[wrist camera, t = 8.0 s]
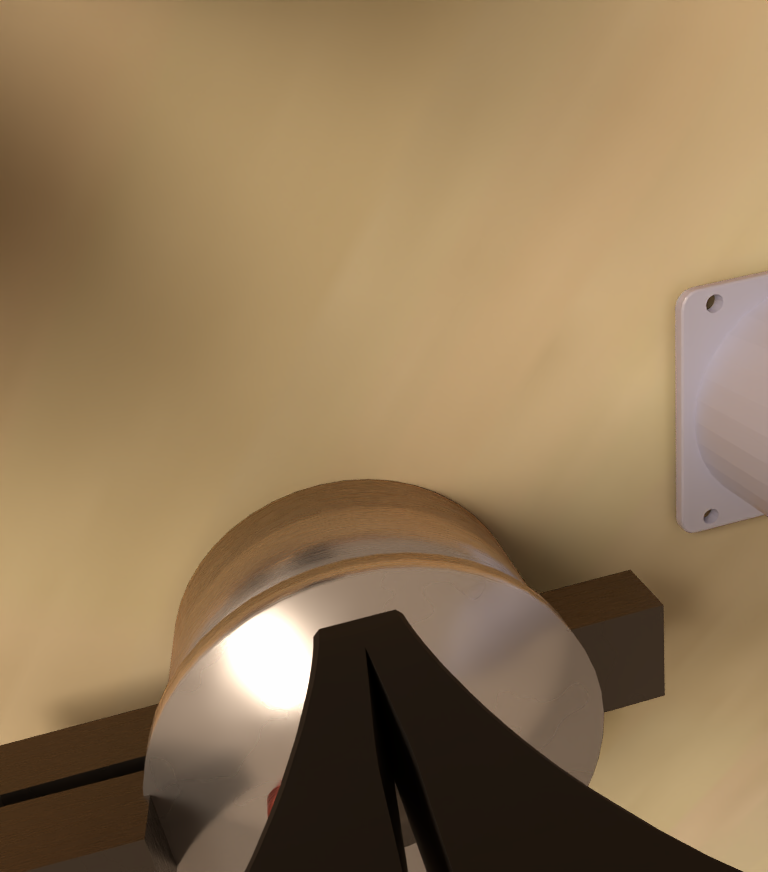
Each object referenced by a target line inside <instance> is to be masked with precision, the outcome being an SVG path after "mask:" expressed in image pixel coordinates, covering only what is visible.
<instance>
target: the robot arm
mask: <svg viewBox="0 0 768 872" xmlns="http://www.w3.org/2000/svg"><path fill="white" fill-rule="evenodd" d="M712 295H714V297H715V301H714V304H713V305H712V307H711V308H709V309H707V307H706V303H707V300H708V299H709V298H710V296H712ZM675 350H676V520H677V523H678V525H679V526H680V527H681V528H682V529H684V530H685V531H686V532H689V533H695V532H700V531H703V530H707V529H711V528H715V527H719V526H723V525H727V524H731V523H734V522H738V521H742V520H746V519H750V518H754V517H758V516H762V515H766V516H767V517H768V271H765V272H761V273H756V274H752V275H747V276H742V277H738V278H733V279H729V280H724V281H719V282H715V283H710V284H705V285H701V286H696V287H692V288H689V289H687V290H685V291H684V292H683V293H682V294H681V295H680V296H679V298H678V300H677V301H676V307H675ZM710 509H711V511H710V513H709V515H708V516H706V517H704V514H705V513H706V512H707V511H708V510H710ZM395 784H396V787H397V790H398V792H399V795H400V798H401V801H402V804H403V807H404V809H405V812H406V815H407V818H408V821H409V824H410V826H411V829H412V832H413V835H414V838H415V841H416V843H417V846H418V849H419V852H420V855H421V857H422V860H423V863H424V866H425V869H426V872H743V871H740V870H738V869H736V868H734V867H731V866H729V865H727V864H725V863H723V862H720V861H718V860H716V859H714V858H712V857H710V856H707V855H706V854H704V853H702V852H700V851H698V850H696V849H694V848H692V847H690V846H689V845H687V844H685V843H683V842H681V841H679V840H677V839H675V838H673V837H672V836H670V835H668V834H666V833H664V832H662V831H660V830H658V829H657V828H655V827H653V826H652V825H650V824H649V823H647V822H645V821H644V820H642V819H640V818H639V817H637V816H635V815H634V814H632V813H630V812H629V811H627V810H625V809H624V808H622V807H620V806H619V805H617V804H615V803H614V802H612V801H610V800H609V799H607V798H605V797H604V796H602V795H600V794H599V793H597V792H595V791H594V790H592V789H591V788H589V787H588V786H586V785H585V784H584V783H582V782H581V781H579V780H578V779H576V778H575V777H573V776H572V775H570V774H569V773H568V772H566V771H565V770H563V769H562V768H560V767H559V766H558V765H556V764H555V763H554V762H552V761H551V760H550V759H548V758H547V757H546V756H544V755H543V754H542V753H540V752H539V751H538V750H536V749H535V748H534V747H532V746H531V745H530V744H529V743H527V742H526V741H525V740H524V739H522V738H521V737H520V736H519V735H517V734H516V733H515V732H514V731H513V730H511V729H510V728H509V727H508V726H507V725H506V724H504V723H503V722H502V721H501V720H500V719H499V718H498V717H496V716H495V715H494V714H493V713H492V712H491V711H490V710H489V709H487V708H486V707H485V706H484V705H483V704H482V703H481V702H480V701H479V700H478V699H477V698H476V697H475V696H474V695H472V694H471V693H470V692H469V691H468V689H467V688H466V687H465V686H464V685H463V684H462V683H461V682H460V681H459V680H458V679H457V678H456V677H455V676H454V675H453V674H452V673H451V672H450V671H449V670H448V669H447V668H446V667H445V666H444V665H443V664H442V663H441V662H440V661H439V659H438V658H437V657H436V656H435V655H434V654H433V653H432V651H431V650H430V649H429V648H428V647H427V646H426V644H425V643H424V642H423V641H422V639H421V638H420V637H419V636H418V634H417V633H416V632H415V630H414V629H413V628H412V626H411V625H410V624H409V622H408V621H407V619H406V618H405V616H404V614H403V613H401V612H399V611H397V610H396V609H395V610H391V611H387V612H383V613H379V614H375V615H372V616H368V617H364V618H360V619H356V620H352V621H348V622H344V623H341V624H337V625H333V626H329V627H325V628H321V629H319V630H318V631H317V632H316V634H315V635H314V636H313V655H312V664H311V671H310V677H309V682H308V688H307V693H306V697H305V701H304V705H303V710H302V714H301V718H300V722H299V726H298V730H297V734H296V737H295V741H294V744H293V747H292V750H291V753H290V757H289V760H288V763H287V766H286V769H285V772H284V775H283V778H282V781H281V785H280V787H279V790H278V793H277V796H276V798H275V801H274V804H273V806H272V809H271V812H270V814H269V817H268V819H267V822H266V824H265V827H264V829H263V831H262V834H261V836H260V839H259V841H258V843H257V846H256V848H255V850H254V853H253V855H252V857H251V859H250V861H249V863H248V866H247V868H246V870H245V872H408V868H407V861H406V854H405V848H404V841H403V834H402V828H401V821H400V814H399V808H398V801H397V795H396V788H395Z"/></svg>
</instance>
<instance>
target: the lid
mask: <svg viewBox="0 0 768 872" xmlns="http://www.w3.org/2000/svg"><path fill="white" fill-rule="evenodd" d="M395 609H396V610H397V611H399V612H401V613H403V614H404V616H405V618H406V619H407V621H408V622H409V624H410V625H411V626H412V628H413V629H414V630H415V632H416V633H417V634H418V636H419V637H420V638H421V639H422V641H423V642H424V643H425V644H426V646H427V647H428V648H429V649H430V650H431V651H432V653H433V654H434V655H435V656H436V657H437V658H438V659H439V661H440V662H441V663H442V664H443V665H444V666H445V667H446V668H447V669H448V670H449V671H450V672H451V673H452V674H453V675H454V676H455V677H456V678H457V679H458V680H459V681H460V682H461V683H462V684H463V685H464V686H465V687H466V688H467V689H468V691H469V692H470V693H471V694H472V695H474V696H475V697H476V698H477V699H478V700H479V701H480V702H481V703H482V704H483V705H484V706H485V707H486V708H487V709H489V710H490V711H491V712H492V713H493V714H494V715H495V716H496V717H498V718H499V719H500V720H501V721H502V722H503V723H504V724H506V725H507V726H508V727H509V728H510V729H511V730H513V731H514V732H515V733H516V734H517V735H519V736H520V737H521V738H522V739H524V740H525V741H526V742H527V743H529V744H530V745H531V746H532V747H534V748H535V749H536V750H538V751H539V752H540V753H542V754H543V755H544V756H546V757H547V758H548V759H550V760H551V761H552V762H554V763H555V764H556V765H558V766H559V767H560V768H562V769H563V770H565V771H566V772H568V773H569V774H570V775H572V776H573V777H575V778H576V779H578V780H579V781H581V782H582V783H584V784H585V785H586V786H588V785H589V783H590V781H591V778H592V775H593V773H594V770H595V767H596V764H597V761H598V758H599V753H600V748H601V743H602V738H603V724H604V710H603V701H602V693H601V689H600V686H599V682H598V679H597V675H596V672H595V669H594V667H593V665H592V663H591V661H590V659H589V657H588V655H587V653H586V651H585V649H584V648H583V647H582V645H581V644H580V642H579V641H578V639H577V638H576V637H575V635H574V634H573V632H572V631H571V629H570V628H569V627H568V625H567V624H566V623H565V621H564V620H563V619H562V617H561V616H560V615H559V613H558V612H557V611H556V610H555V609H554V608H553V607H552V606H551V605H550V604H549V603H548V602H547V601H546V600H545V599H544V598H543V597H542V596H541V595H539V594H538V593H536V592H535V591H534V590H532V589H531V588H529V587H528V586H526V585H525V584H524V583H522V582H521V581H519V580H517V579H515V578H513V577H511V576H509V575H507V574H505V573H503V572H501V571H499V570H497V569H495V568H492V567H489V566H486V565H483V564H480V563H477V562H474V561H471V560H467V559H461V558H456V557H451V556H446V555H440V554H426V553H410V552H407V553H389V554H375V555H369V556H363V557H357V558H351V559H345V560H341V561H338V562H334V563H331V564H327V565H324V566H321V567H317V568H314V569H311V570H308V571H306V572H303V573H301V574H299V575H296V576H294V577H291V578H289V579H286V580H284V581H282V582H280V583H278V584H276V585H274V586H272V587H271V588H269V589H267V590H265V591H263V592H261V593H260V594H258V595H256V596H254V597H252V598H251V599H249V600H248V601H247V602H245V603H244V604H242V605H241V606H240V607H238V608H237V609H235V610H234V611H233V612H231V613H230V614H228V615H227V616H226V617H224V618H223V619H222V620H221V621H220V622H219V623H218V624H217V625H216V626H215V627H213V628H212V629H211V630H210V631H209V632H208V633H207V634H206V635H205V636H204V637H203V638H202V639H201V640H200V641H199V642H198V643H197V644H196V646H195V647H194V648H193V649H192V650H191V652H190V653H189V654H188V655H187V656H186V658H185V659H184V660H183V661H182V662H181V664H180V666H179V667H178V669H177V670H176V672H175V674H174V675H173V677H172V678H171V680H170V681H169V683H168V685H167V686H166V688H165V691H164V693H163V695H162V698H161V700H160V702H159V704H158V707H157V709H156V711H155V715H154V719H153V722H152V726H151V730H150V734H149V738H148V745H147V752H146V759H145V768H144V771H140V772H136V773H132V774H128V775H124V776H120V777H116V778H112V779H109V780H105V781H101V782H97V783H93V784H89V785H85V786H81V787H77V788H73V789H70V790H66V791H62V792H58V793H54V794H50V795H46V796H42V797H38V798H35V799H31V800H27V801H23V802H19V803H15V804H11V805H7V806H3V807H0V872H245V870H246V868H247V866H248V863H249V861H250V859H251V857H252V855H253V853H254V850H255V848H256V846H257V843H258V841H259V839H260V836H261V834H262V831H263V829H264V827H265V824H266V822H267V819H268V817H269V814H270V812H271V809H272V806H273V804H274V801H275V798H276V796H277V793H278V790H279V787H280V785H281V781H282V778H283V775H284V772H285V769H286V766H287V763H288V760H289V757H290V753H291V750H292V747H293V744H294V741H295V737H296V734H297V730H298V726H299V722H300V718H301V714H302V710H303V705H304V701H305V697H306V693H307V688H308V682H309V677H310V671H311V664H312V655H313V636H314V635H315V634H316V632H317V631H318V630H319V629H321V628H325V627H329V626H333V625H337V624H341V623H344V622H348V621H352V620H356V619H360V618H364V617H368V616H372V615H375V614H379V613H383V612H387V611H391V610H395ZM395 788H396V795H397V801H398V808H399V814H400V821H401V828H402V834H403V841H404V848H405V854H406V861H407V868H408V872H426V869H425V866H424V863H423V860H422V857H421V855H420V852H419V849H418V846H417V843H416V841H415V838H414V835H413V832H412V829H411V826H410V824H409V821H408V818H407V815H406V812H405V809H404V807H403V804H402V801H401V798H400V795H399V792H398V790H397V787H396V784H395Z"/></svg>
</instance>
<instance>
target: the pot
mask: <svg viewBox="0 0 768 872" xmlns="http://www.w3.org/2000/svg"><path fill="white" fill-rule="evenodd" d="M407 552H410V553H426V554H440V555H446V556H451V557H456V558H461V559H467V560H471V561H474V562H477V563H480V564H483V565H486V566H489V567H492V568H495V569H497V570H499V571H501V572H503V573H505V574H507V575H509V576H511V577H513V578H515V579H517V580H519V581H521V582H522V583H524V584H525V585H526V583H525V582H524V580H523V579H522V577H521V576H520V574H519V573H518V571H517V570H516V568H515V567H514V565H513V564H512V562H511V561H510V559H509V558H508V556H507V555H506V553H505V552H504V550H503V549H502V547H501V546H500V544H499V543H498V542H497V540H496V539H495V538H494V536H493V535H492V534H491V533H490V531H489V530H488V529H487V527H486V526H484V525H483V524H482V523H481V522H480V521H479V520H478V519H477V518H476V517H475V516H474V515H473V514H472V513H470V512H469V511H467V510H466V509H464V508H463V507H461V506H460V505H458V504H457V503H456V502H454V501H452V500H450V499H448V498H446V497H444V496H442V495H440V494H438V493H436V492H433V491H430V490H427V489H424V488H421V487H418V486H415V485H410V484H404V483H399V482H394V481H384V480H369V479H367V480H348V481H339V482H334V483H328V484H322V485H318V486H314V487H311V488H307V489H304V490H301V491H297V492H294V493H292V494H290V495H287V496H285V497H283V498H280V499H278V500H276V501H273V502H271V503H270V504H268V505H266V506H264V507H263V508H261V509H259V510H258V511H256V512H254V513H252V514H251V515H249V516H248V517H247V518H245V519H244V520H243V521H241V522H240V523H239V524H237V525H236V526H235V527H233V528H232V529H231V530H230V531H229V532H228V533H227V534H226V535H225V536H224V537H223V538H222V539H221V540H220V541H219V542H217V543H216V544H215V545H214V546H213V548H212V549H211V550H210V552H209V553H208V554H207V555H206V557H205V558H204V559H203V560H202V562H201V563H200V564H199V566H198V568H197V569H196V571H195V573H194V575H193V576H192V578H191V580H190V581H189V583H188V585H187V588H186V590H185V593H184V595H183V598H182V600H181V603H180V606H179V611H178V615H177V619H176V624H175V631H174V640H173V648H172V656H171V664H170V672H169V681H170V680H171V678H172V677H173V675H174V674H175V672H176V670H177V669H178V667H179V666H180V664H181V662H182V661H183V660H184V659H185V658H186V656H187V655H188V654H189V653H190V652H191V650H192V649H193V648H194V647H195V646H196V644H197V643H198V642H199V641H200V640H201V639H202V638H203V637H204V636H205V635H206V634H207V633H208V632H209V631H210V630H211V629H212V628H213V627H215V626H216V625H217V624H218V623H219V622H220V621H221V620H222V619H223V618H224V617H226V616H227V615H228V614H230V613H231V612H233V611H234V610H235V609H237V608H238V607H240V606H241V605H242V604H244V603H245V602H247V601H248V600H249V599H251V598H252V597H254V596H256V595H258V594H260V593H261V592H263V591H265V590H267V589H269V588H271V587H272V586H274V585H276V584H278V583H280V582H282V581H284V580H286V579H289V578H291V577H294V576H296V575H299V574H301V573H303V572H306V571H308V570H311V569H314V568H317V567H321V566H324V565H327V564H331V563H334V562H338V561H341V560H345V559H351V558H357V557H363V556H369V555H375V554H389V553H407ZM526 586H527V585H526ZM540 595H541V596H542V597H543V598H544V599H545V600H546V601H547V602H548V603H549V604H550V605H551V606H552V607H553V608H554V609H555V610H556V611H557V612H558V613H559V615H560V616H561V617H562V619H563V620H564V621H565V623H566V624H567V625H568V627H569V628H570V629H571V631H572V632H573V634H574V635H575V637H576V638H577V639H578V641H579V642H580V644H581V645H582V647H583V648H584V649H585V651H586V653H587V655H588V657H589V659H590V661H591V663H592V665H593V667H594V669H595V672H596V675H597V679H598V682H599V686H600V689H601V693H602V701H603V710H604V712H607V711H611V710H614V709H618V708H621V707H625V706H629V705H632V704H636V703H639V702H643V701H646V700H650V699H653V698H657V697H660V696H664V695H665V689H664V614H663V604H662V603H661V602H660V601H659V600H658V599H657V598H656V597H655V596H654V595H653V593H652V592H651V591H650V590H649V589H648V588H647V587H646V586H645V585H644V584H643V583H642V582H641V581H640V580H639V579H638V578H637V576H636V575H635V574H634V573H633V572H632V571H631V570H628V571H624V572H620V573H616V574H612V575H608V576H605V577H601V578H597V579H593V580H589V581H586V582H582V583H578V584H574V585H570V586H566V587H563V588H559V589H555V590H551V591H547V592H543V593H540ZM169 681H168V683H169ZM157 707H158V704H156V705H153V706H149V707H145V708H141V709H137V710H134V711H130V712H126V713H122V714H118V715H115V716H111V717H107V718H103V719H99V720H96V721H92V722H88V723H84V724H80V725H77V726H73V727H69V728H65V729H61V730H58V731H54V732H50V733H46V734H42V735H39V736H35V737H31V738H27V739H23V740H20V741H16V742H12V743H8V744H4V745H1V746H0V807H3V806H7V805H11V804H15V803H19V802H23V801H27V800H31V799H35V798H38V797H42V796H46V795H50V794H54V793H58V792H62V791H66V790H70V789H73V788H77V787H81V786H85V785H89V784H93V783H97V782H101V781H105V780H109V779H112V778H116V777H120V776H124V775H128V774H132V773H136V772H140V771H144V768H145V759H146V752H147V745H148V738H149V734H150V730H151V726H152V722H153V719H154V715H155V711H156V709H157Z"/></svg>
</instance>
